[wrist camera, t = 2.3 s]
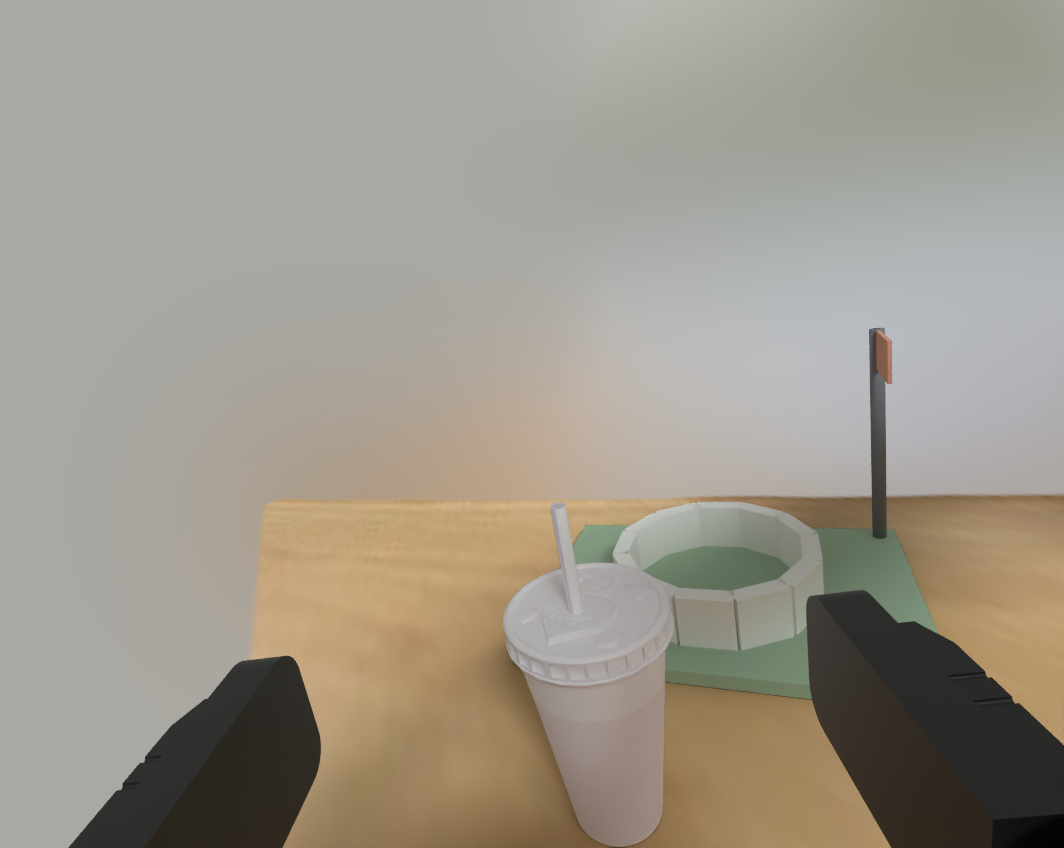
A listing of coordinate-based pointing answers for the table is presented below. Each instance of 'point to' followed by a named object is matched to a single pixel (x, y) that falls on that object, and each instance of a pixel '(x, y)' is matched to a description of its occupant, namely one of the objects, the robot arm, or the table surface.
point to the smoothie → (598, 684)
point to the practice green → (762, 573)
